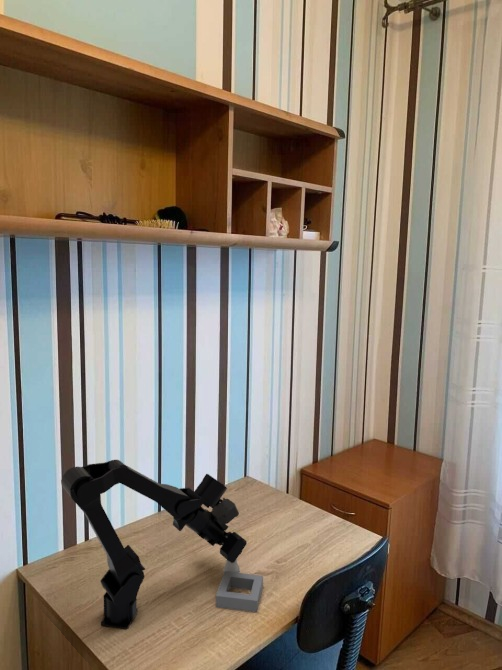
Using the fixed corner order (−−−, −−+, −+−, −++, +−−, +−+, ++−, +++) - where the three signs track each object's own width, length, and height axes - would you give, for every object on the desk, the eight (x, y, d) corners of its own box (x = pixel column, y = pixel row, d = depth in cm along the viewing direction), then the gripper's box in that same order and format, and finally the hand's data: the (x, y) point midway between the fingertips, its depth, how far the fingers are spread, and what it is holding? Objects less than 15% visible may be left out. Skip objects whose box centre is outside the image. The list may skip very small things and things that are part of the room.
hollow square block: (215, 607, 124) (216, 595, 124) (224, 581, 134) (224, 571, 134) (257, 612, 123) (257, 600, 122) (262, 586, 132) (263, 575, 132)
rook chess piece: (221, 570, 139) (221, 542, 138) (236, 567, 141) (237, 539, 139) (226, 579, 135) (226, 551, 134) (242, 576, 136) (242, 548, 135)
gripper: (240, 508, 125) (275, 538, 133) (201, 481, 140) (234, 508, 148) (212, 549, 121) (249, 576, 129) (175, 516, 136) (210, 542, 144)
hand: (236, 548), depth 138 cm, fingers open, 4 cm apart
